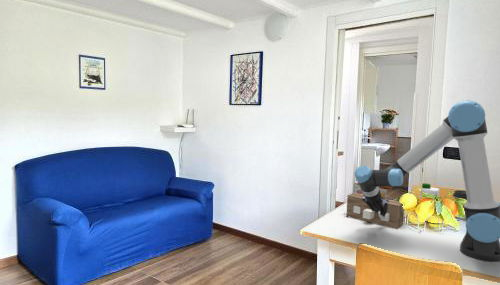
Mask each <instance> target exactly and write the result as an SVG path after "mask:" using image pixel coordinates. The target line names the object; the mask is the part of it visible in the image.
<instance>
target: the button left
mask: <svg viewBox="0 0 500 285" xmlns="http://www.w3.org/2000/svg"><path fill="white" fill-rule="evenodd" d="M353 213H357V214H361V206H357V205H354V207H353Z"/></svg>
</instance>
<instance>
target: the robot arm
mask: <svg viewBox="0 0 500 285" xmlns="http://www.w3.org/2000/svg"><path fill="white" fill-rule="evenodd" d="M486 135H488V127H487V121H486V111H485V109H484V108H483V106H482V105H481V104H480V103H478V102H477V101H474V100H470V99H469V100H468V99H467V100H461V101H458V102H456V103H455V104H454V105H453V106H451V108H450V109H449V112H448V115H447V117H445V118H444V119H443V120H442V124H441V125H439V126H437V128H435V130H433V131H432V132H431V133H430V134H428V135H427V136H426V137H424V138H423V139H422V140H421V141H420V142H418V143H417V144H416V145H415V146H413V147H412V148H411V149H410V150H409V151H407V152H406V153H404V154H403V155H402V156H401V157H399V159H397V160H396V161H395V162H393V163H392V164H391V165H389V167H386V168H384V169H371V168H370V167H369V166H368V165H361V166H359V167H357V168H356V169H355V171H354V177H355V180H356V181H357V182H358V184H359V186H360V188H361V190H362V192H363V194H364V196H363V199H362V200H363V201H364V202H365V203H366V204H367V205H368V206H369V208H370V209H371V210H372V211H375V212H376V213H377V215H379V217H380V219H381V220H382V221H384V220H385V218H386V216H385V215H386V213H387V210H388V203H389V200H390V199H387V200H383V198H382V197H381V192H380V190H379V187H399V186H403V184H404V178H405V177H406V176H407V175H409V174H410V173H411V172H412V171H413V170H415V169H416V168H417V167H418V166H420V165H421V164H422V163H424V162H425V161H426V160H428V159H429V158H430V157H432V156H433V155H434V154H435V153H438V151H439V150H440V149H442V148H443V147H445V146H446V145H447V144H449V143H450V142H451V141H452V140H453V139H454V140H455V141H457V144H458V150H459V156H460V162H461V171H462V175H463V181H464V187H465V189H464V190H465V191H466V195H467V202H466V204H465V205H464V210H465V216H466V220H465V230H466V231H465V234H464V236H463V237H462V240H461V241H460V244H459V251H460V252H461V253H462V254H464V255H466V256H468V257H470V258H474V259H478V260H482V261H487V262H499V261H500V202H498V201H496V200H495V199H494V193H493V192H494V191H493V188H492V182H491V176H490V169H489V162H488V157H487V150H486V145H485V141H484V140H485V137H486ZM378 186H379V187H378ZM382 202H383V205H384V207H383V205H382ZM372 207H373V208H372Z"/></svg>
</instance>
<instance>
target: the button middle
mask: <svg viewBox="0 0 500 285" xmlns="http://www.w3.org/2000/svg"><path fill="white" fill-rule="evenodd" d="M363 218H366V219H372V218H375V211H372V210H371V209H370V208H368V209H365V210H363Z"/></svg>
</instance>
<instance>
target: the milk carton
mask: <svg viewBox="0 0 500 285" xmlns="http://www.w3.org/2000/svg"><path fill="white" fill-rule="evenodd" d="M421 184H422V185H421V189H420V197H419V199H420V198H422V193H423V192H424V193H428V194H433V195H437V196H439V197H440V192H441V191H440V188H439V187H432V186H431V184H430V183H421Z"/></svg>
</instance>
